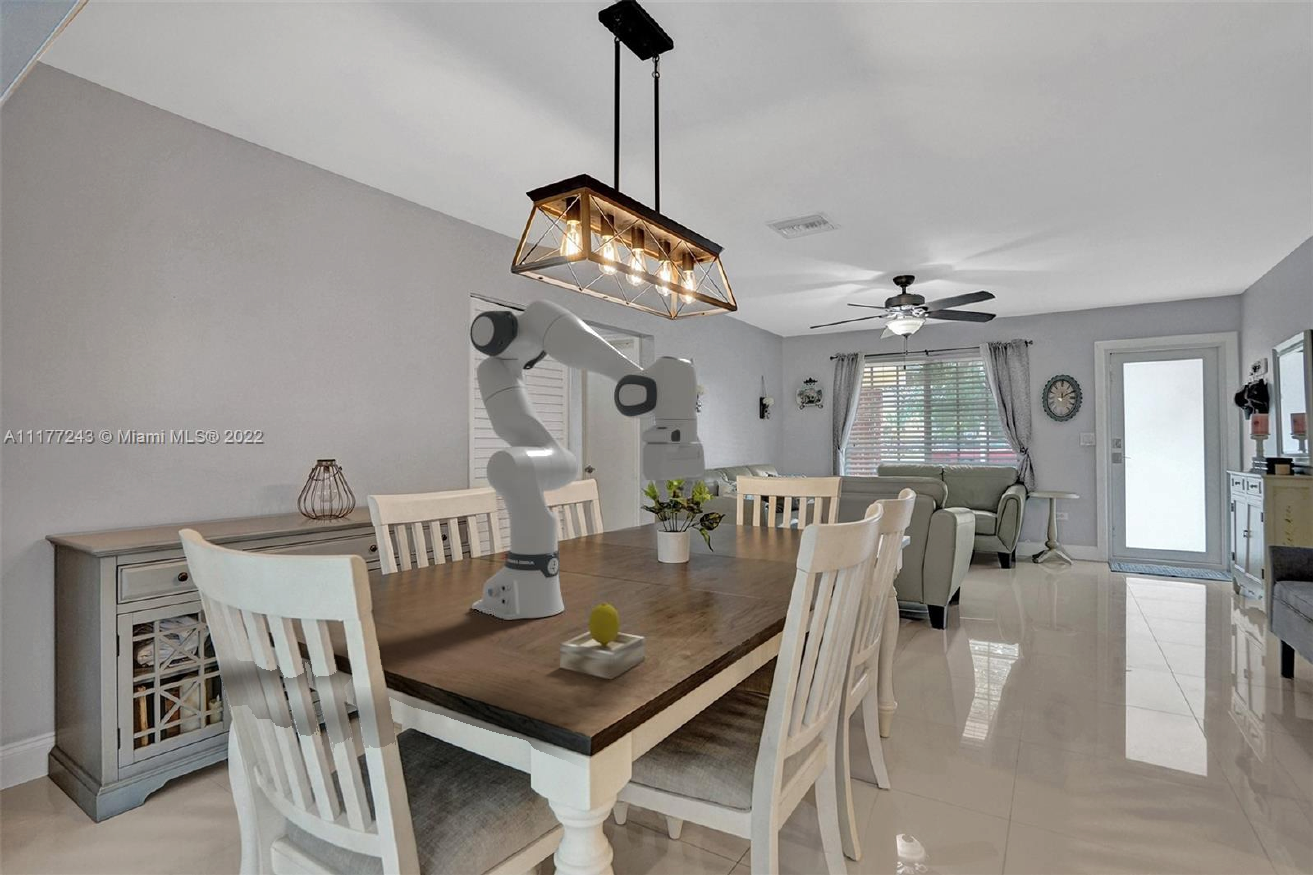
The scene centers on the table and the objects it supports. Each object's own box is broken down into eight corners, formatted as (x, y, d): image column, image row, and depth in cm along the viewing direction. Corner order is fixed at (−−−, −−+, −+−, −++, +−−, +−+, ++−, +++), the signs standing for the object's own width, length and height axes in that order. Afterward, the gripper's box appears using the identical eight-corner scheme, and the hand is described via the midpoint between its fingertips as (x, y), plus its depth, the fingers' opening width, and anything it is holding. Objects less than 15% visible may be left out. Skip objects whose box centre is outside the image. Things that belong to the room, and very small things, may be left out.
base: (560, 667, 114) (560, 643, 114) (596, 649, 123) (596, 628, 123) (611, 679, 108) (611, 654, 108) (644, 659, 117) (644, 637, 117)
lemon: (619, 641, 119) (619, 598, 119) (619, 651, 113) (619, 606, 113) (589, 641, 119) (590, 598, 119) (588, 651, 113) (588, 606, 113)
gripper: (686, 434, 143) (686, 495, 143) (637, 433, 126) (637, 503, 126) (711, 434, 140) (711, 496, 140) (664, 433, 122) (664, 505, 122)
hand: (676, 500), depth 133 cm, fingers open, 8 cm apart
